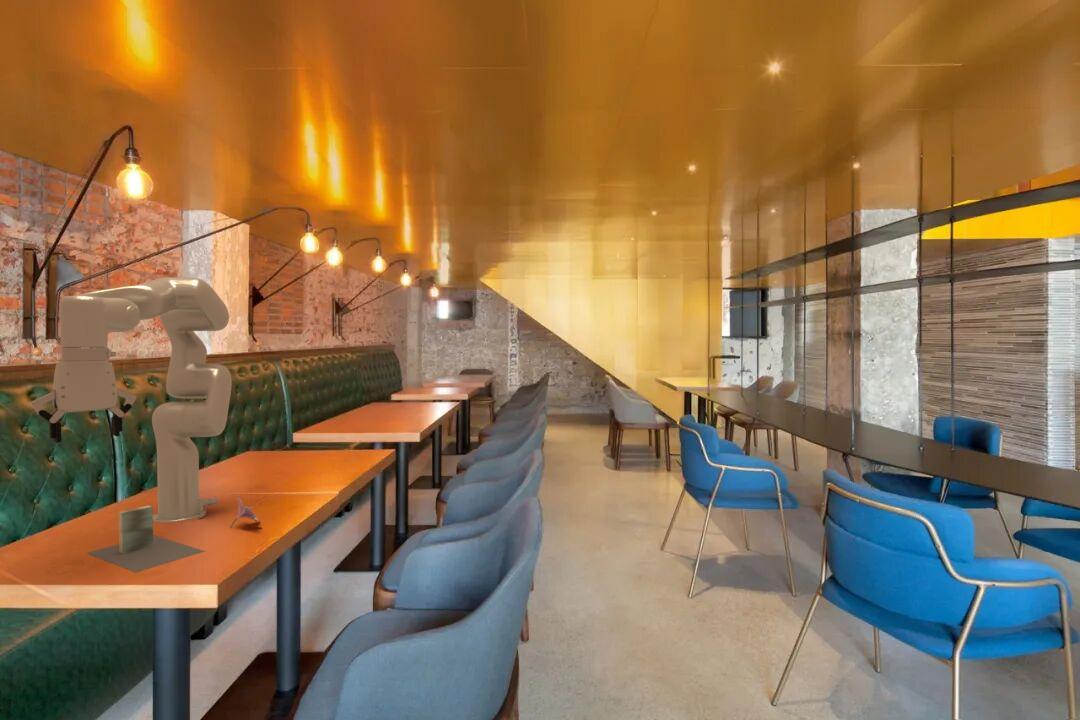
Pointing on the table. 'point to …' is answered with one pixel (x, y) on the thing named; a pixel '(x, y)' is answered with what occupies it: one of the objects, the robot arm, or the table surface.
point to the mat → (146, 554)
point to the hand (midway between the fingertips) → (87, 438)
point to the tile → (135, 529)
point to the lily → (245, 512)
